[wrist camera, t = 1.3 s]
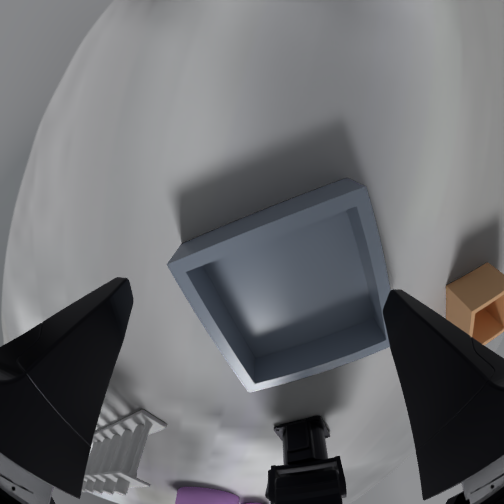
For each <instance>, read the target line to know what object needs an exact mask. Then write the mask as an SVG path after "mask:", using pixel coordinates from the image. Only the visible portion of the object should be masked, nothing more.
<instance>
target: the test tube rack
mask: <svg viewBox="0 0 504 504" xmlns="http://www.w3.org/2000/svg"><path fill="white" fill-rule="evenodd" d="M165 428H167V424H166V423H164V422H162V421H161V420H159V419H157V418H156V417H154V416H153V415H151V414H149V413H148V412H146V411H145V410H143V409H142V410H140V411H138V412H136V413H134V414H132V415H130V416H128V417H126V418H124V419H122V420H120V421H118V422H116V423H114V424H112V425H110V426H108V427H106V428H103V429H101V430H99V431H97V432H95V433H94V436H93V440H92V443H93V448H92V450H91V453H90V455H89V457H88V462H87V466H86V471H85V476H84V481H83V486H82V492H86V491H88V492H90V493H93V492H94V491H95V492H97V493H99V494H102V493H103V492H105V493H107V494H110V495H113V493H114V492H116V493H118V494H120V495H124V496H126V493H128V492H127V491H128V488H132V487H150V485H151V484H149V483H147V482H144V481H142V480H140V479H138V478H136V477H137V469H138V466H139V463H140V459H141V456H142V453H143V450H144V446H145V443H146V440H147V437H148V435H149V434H152V433H155V432H157V431H160V430H163V429H165Z"/></svg>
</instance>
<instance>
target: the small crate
mask: <svg viewBox="0 0 504 504" xmlns="http://www.w3.org/2000/svg"><path fill="white" fill-rule="evenodd" d="M446 319H447V320H448V321H450V322H451V323H453V324H454V325H455V326H457V327H458V328H460V329H461V330H463V331H464V332H466V333H467V334H468V335H470V336H471V337H473V338H474V339H476V340H477V341H478V342H480V343H481V344H483V345H485V344H487V343H488V342H490V341H491V340H493V339H494V338H495V337H497V336H498V335H500V334H501V333H502V332H504V274H502V273H501V272H500V271H499V270H497V269H496V268H495V267H493V266H492V265H491V264H489V263H488V262H487V263H485V264H484V265H482V266H480V267H479V268H477V269H475V270H474V271H472V272H470V273H468V274H466V275H465V276H463V277H461V278H459V279H457V280H456V281H454V282H452V283H450V284H448V285H446Z"/></svg>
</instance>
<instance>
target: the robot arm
mask: <svg viewBox="0 0 504 504" xmlns="http://www.w3.org/2000/svg"><path fill="white" fill-rule="evenodd" d="M132 306H133V295H132V290H131V286H130V282H129V280H128V279H127V278H121V277H117V278H115V279H113V280H111V281H110V282H108V283H106V284H104V285H103V286H101V287H99V288H98V289H96V290H94V291H92V292H91V293H89V294H87V295H86V296H84V297H82V298H81V299H79V300H77V301H76V302H74V303H72V304H71V305H69V306H67V307H66V308H64V309H63V310H61V311H59V312H58V313H56V314H54V315H53V316H51V317H50V318H48V319H47V320H45V321H43V322H42V323H40V324H39V325H37V326H35V327H34V328H32V329H31V330H29V331H27V332H26V333H24V334H23V335H21V336H19V337H17V338H16V339H14V340H12V341H10V342H8V343H7V344H5V345H3V346H1V347H0V504H55V502H54V500H53V498H52V492H53V488H54V487H55V488H57V489H59V490H61V491H63V492H65V493H67V494H70V495H71V496H74V497H76V498H78V499H80V496H81V491H82V486H83V481H84V476H85V471H86V466H87V462H88V457H89V453H90V449H91V444H92V440H93V436H94V432H95V429H96V425H97V421H98V418H99V414H100V411H101V407H102V404H103V400H104V397H105V394H106V391H107V388H108V384H109V381H110V378H111V375H112V372H113V369H114V366H115V363H116V361H117V358H118V355H119V352H120V349H121V346H122V343H123V341H124V337H125V333H126V329H127V325H128V321H129V317H130V313H131V310H132ZM383 317H384V321H385V326H386V330H387V335H388V340H389V344H390V349H391V352H392V356H393V359H394V362H395V366H396V369H397V373H398V376H399V380H400V383H401V387H402V391H403V395H404V399H405V403H406V407H407V411H408V415H409V420H410V424H411V429H412V433H413V438H414V443H415V449H416V455H417V461H418V466H419V473H420V480H421V487H422V496H423V500H426V499H429V498H431V497H433V496H435V495H438V494H440V493H442V492H444V491H446V490H448V489H450V488H452V487H454V486H456V485H458V484H460V483H462V487H463V492H461V493H459V494H457V495H455V496H453V497H452V498H450V499H448V500H447V502H446V504H504V358H502V357H501V356H499V355H497V354H496V353H495V352H493V351H491V350H490V349H488V348H487V347H486V346H484V345H483V344H481V343H480V342H478V341H477V340H476V339H474V338H473V337H471V336H470V335H468V334H467V333H466V332H464V331H463V330H461V329H460V328H458V327H457V326H455V325H454V324H453V323H451V322H450V321H448V320H447V319H445V318H444V317H442V316H441V315H439V314H438V313H436V312H435V311H433V310H432V309H430V308H429V307H427V306H426V305H424V304H423V303H421V302H420V301H418V300H417V299H415V298H414V297H412V296H410V295H409V294H407V293H406V292H404V291H403V290H391V291H390V292H389V294H388V297H387V300H386V302H385V305H384V307H383ZM274 431H275V432H276V434H277V435H278V436H279V437H280V439H281V440H282V441H283V458H284V465H280V466H276V465H274V466H271V470H269V471H268V484H267V489H266V494H265V496H266V498H267V499H269V501H270V503H271V504H342V498H345V497H346V482H345V477H344V473H343V468H342V464H341V460H340V456H336V457H334V458H329V459H328V454H327V448H326V442H325V438H328V437H330V433H329V431H328V429H327V427H326V425H325V423H324V421H323V419H322V417H321V416H315V417H312V418H308V419H304V420H300V421H296V422H292V423H288V424H284V425H279V426H275V427H274Z"/></svg>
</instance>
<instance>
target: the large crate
mask: <svg viewBox="0 0 504 504" xmlns="http://www.w3.org/2000/svg"><path fill="white" fill-rule="evenodd" d="M167 266H168V268H169V269H170V271H171V273H172V275H173V276H174V278H175V280H176V282H177V283H178V285H179V287H180V288H181V290H182V292H183V293H184V295H185V297H186V298H187V300H188V302H189V303H190V305H191V307H192V308H193V310H194V312H195V313H196V315H197V316H198V318H199V320H200V321H201V323H202V324H203V326H204V328H205V329H206V331H207V332H208V334H209V335H210V337H211V338H212V340H213V342H214V343H215V345H216V346H217V348H218V349H219V351H220V352H221V354H222V355H223V357H224V358H225V360H226V361H227V362H228V364H229V365H230V367H231V368H232V370H233V371H234V373H235V374H236V375H237V377H238V378H239V380H240V381H241V383H242V384H243V385H244V387H245V388H246V390H247V391H248V392H253V391H258V390H262V389H266V388H270V387H274V386H278V385H281V384H285V383H289V382H292V381H296V380H299V379H302V378H306V377H309V376H312V375H315V374H318V373H322V372H325V371H328V370H331V369H333V368H336V367H339V366H342V365H345V364H348V363H350V362H353V361H356V360H358V359H361V358H363V357H366V356H369V355H371V354H374V353H376V352H378V351H381V350H383V349H386V348H388V347H390V344H389V340H388V335H387V330H386V326H385V321H384V317H383V307H384V305H385V302H386V300H387V297H388V294H389V292H390V285H389V280H388V274H387V269H386V264H385V259H384V254H383V250H382V245H381V241H380V237H379V232H378V228H377V224H376V220H375V217H374V213H373V209H372V205H371V202H370V198H369V195H368V191H367V188H366V186H364V185H362V184H360V183H358V182H356V181H354V180H351V179H349V178H345V179H342V180H340V181H337V182H334V183H332V184H329V185H326V186H323V187H321V188H318V189H315V190H313V191H310V192H308V193H305V194H302V195H300V196H297V197H295V198H292V199H289V200H287V201H284V202H282V203H279V204H277V205H274V206H272V207H269V208H266V209H264V210H261V211H259V212H256V213H254V214H252V215H249V216H247V217H244V218H242V219H239V220H237V221H234V222H232V223H229V224H227V225H225V226H222V227H220V228H217V229H215V230H213V231H210V232H208V233H206V234H203V235H201V236H199V237H196V238H194V239H192V240H189V241H187V242H185V243H182V244H181V245H180V247H179V248H178V249H177V251H176V252H175V254H174V255H173V256H172V258H171V259H170V261H169V262H168V264H167Z"/></svg>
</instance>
